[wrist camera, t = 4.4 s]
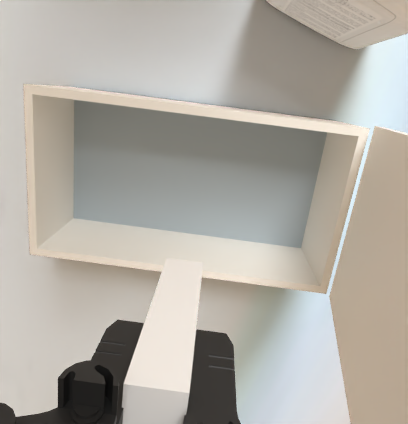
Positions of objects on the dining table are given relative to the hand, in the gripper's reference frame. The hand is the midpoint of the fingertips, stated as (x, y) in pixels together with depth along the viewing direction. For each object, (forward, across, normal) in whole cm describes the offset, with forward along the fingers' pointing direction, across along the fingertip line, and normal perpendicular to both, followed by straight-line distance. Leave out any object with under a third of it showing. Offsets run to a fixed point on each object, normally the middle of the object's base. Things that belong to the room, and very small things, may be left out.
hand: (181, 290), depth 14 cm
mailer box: (+21, -1, 0) cm, 21 cm away
